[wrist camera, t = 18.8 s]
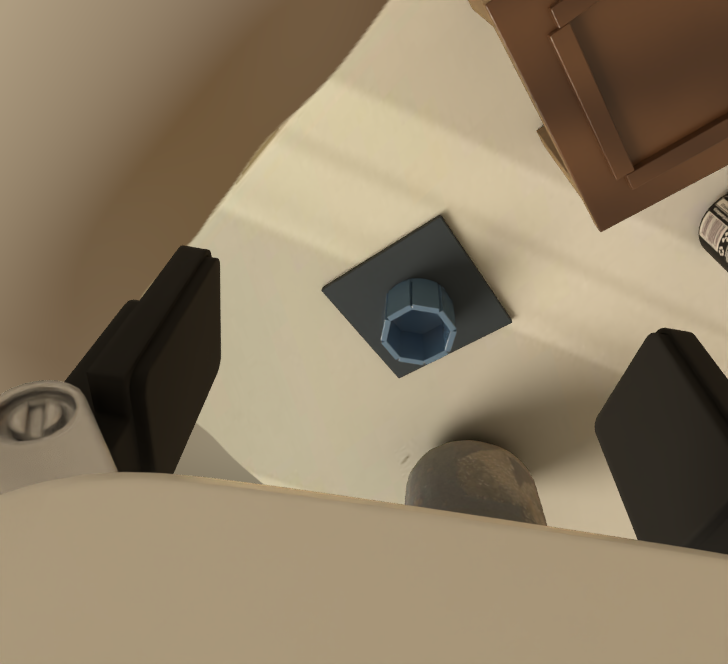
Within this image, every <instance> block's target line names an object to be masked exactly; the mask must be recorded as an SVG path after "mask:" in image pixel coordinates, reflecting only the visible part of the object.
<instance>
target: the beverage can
mask: <svg viewBox="0 0 728 664" xmlns="http://www.w3.org/2000/svg"><path fill="white" fill-rule="evenodd" d="M699 240H700V243H701V245H702V246H703V248H704V249H705V250H706V251H707V252H708V253H709V254H710V255H711V256H712V257H713V258H714V259H715V260H716V261H717V262H718V263H719V264H720V265H721V266H722V267H723V268H724V269H725V270H726V271H727V272H728V194H726V195H725V196H723V197H722V198H720V199H719V200H718V201H716V202H715V203H714V204H713V205H712V206H711V207H710V208H709V210H708V211H707V212H706V214H705V215H704V217H703V219H702V221H701V223H700V227H699Z"/></svg>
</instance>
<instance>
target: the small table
mask: <svg viewBox="0 0 728 664" xmlns="http://www.w3.org/2000/svg"><path fill="white" fill-rule="evenodd" d="M468 1H469V3H470V5H471V7H472V9H473V10H474V11H475V12H477V13H478V14H479V15H480V16H481V17H483V18H484V19H485V20H486V21H487V22H489V23H490V24H491V25H492V26H493V27H494V28H495V30H496V32H497V34H498V36H499V38H500V40H501V42H502V44H503V46H504V48H505V50H506V52H507V54H508V56H509V58H510V60H511V62H512V64H513V66H514V67H515V69H516V71H517V73H518V75H519V77H520V79H521V81H522V83H523V85H524V87H525V89H526V91H527V93H528V95H529V97H530V99H531V101H532V103H533V105H534V107H535V108H536V110H537V112H538V114H539V116H540V118H541V120H542V122H543V124H544V126H543V127H541V128H540V129H538V130H537V133H538V135H539V137H540V139H541V141H542V143H543V145H544V147H545V148H546V149H547V151H548V152H549V154H550V155H551V156H552V158H553V159H554V161H555V162H556V163H557V165H558V166H559V168H560V169H561V170H562V172H563V173H564V175H565V176H566V177H567V179H568V180H569V182H570V183H571V184H572V186H573V187H574V189H575V190H576V191H577V193H578V194H579V196H580V197H581V199H582V200H583V202H584V204H585V206H586V208H587V210H588V212H589V214H590V216H591V218H592V220H593V222H594V224H595V225H596V227H597V228H598V230H599V231H600V232H602V231H604V230H606V229H608V228H610V227H612V226H613V225H615V224H617V223H619V222H621V221H623V220H625V219H627V218H629V217H630V216H632V215H634V214H636V213H638V212H640V211H642V210H644V209H646V208H647V207H649V206H651V205H653V204H655V203H657V202H659V201H661V200H663V199H664V198H666V197H668V196H670V195H672V194H674V193H676V192H678V191H680V190H681V189H683V188H685V187H687V186H689V185H691V184H693V183H695V182H697V181H698V180H700V179H702V178H704V177H706V176H708V175H710V174H712V173H714V172H715V171H717V170H719V169H721V168H723V167H725V166H727V165H728V0H468Z"/></svg>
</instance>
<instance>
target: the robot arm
mask: <svg viewBox="0 0 728 664" xmlns="http://www.w3.org/2000/svg"><path fill="white" fill-rule="evenodd" d="M220 360H221V322H220V261H219V259H218V258H213V257H212V256H211V252H210V250H207V249H201V248H195V247H189V246H180V247H179V248H178V250H177V251H176V252H175V254H174V255H173V256H172V258H171V259H170V260H169V262H168V263H167V265H166V266H165V267H164V268H163V270H162V271H161V272H160V274H159V275H158V277H157V278H156V279H155V280H154V282H153V283H152V285H151V286H150V287H149V289H148V290H147V291H146V293H145V294H144V295H143V297H142V298H141V299H140V301H138V300H130V301H128V302H127V303H126V304H125V305H124V306H123V307H122V309H121V310H120V311H119V313H118V314H117V315H116V316H115V318H114V319H113V320H112V321H111V323H110V324H109V325H108V327H107V328H106V329H105V330H104V332H103V333H102V334H101V336H100V337H99V338H98V339H97V341H96V342H95V344H94V345H93V346H92V347H91V349H90V350H89V351H88V352H87V353H86V355H85V356H84V357H83V359H82V360H81V361H80V362H79V364H78V365H77V366H76V368H75V369H74V370H73V371H72V373H71V374H70V375H69V377H68V378H67V379H66V380H65V382H60V381H36V382H31V383H25V384H22V385H19V386H17V387H14V388H11V389H9V390H7V391H5V392H4V393H2V394H0V664H728V379H727V378H726V376H725V375H724V374H723V372H722V371H721V370H720V368H719V367H718V366H717V364H716V363H715V362H714V360H713V359H712V358H711V356H710V355H709V354H708V352H707V351H706V350H705V348H704V347H703V346H702V344H701V343H700V342H699V340H698V339H697V338H696V336H695V335H694V334H693V333H691V332H686V331H681V330H675V329H669V328H661V329H659V330H658V331H657V332H656V333H651V334H650V335H648V336H647V338H646V339H645V341H644V342H643V344H642V346H641V347H640V349H639V350H638V352H637V354H636V355H635V357H634V358H633V360H632V362H631V363H630V365H629V366H628V368H627V370H626V371H625V373H624V374H623V376H622V378H621V379H620V381H619V382H618V384H617V386H616V387H615V389H614V390H613V392H612V394H611V395H610V397H609V398H608V400H607V402H606V403H605V405H604V406H603V408H602V410H601V411H600V413H599V414H598V416H597V418H596V421H595V432H596V435H597V438H598V440H599V443H600V445H601V448H602V451H603V453H604V456H605V458H606V461H607V463H608V466H609V468H610V471H611V473H612V476H613V478H614V481H615V483H616V486H617V488H618V491H619V494H620V496H621V499H622V501H623V504H624V506H625V509H626V511H627V514H628V516H629V519H630V521H631V524H632V526H633V529H634V531H635V534H636V537H637V539H638V540H634V539H627V538H621V537H615V536H608V535H602V534H595V533H589V532H583V531H576V530H570V529H563V528H556V527H550V526H543V525H537V524H530V523H523V522H517V521H510V520H504V519H497V518H490V517H484V516H477V515H470V514H464V513H457V512H450V511H444V510H437V509H430V508H424V507H417V506H410V505H403V504H396V503H389V502H382V501H375V500H369V499H362V498H355V497H348V496H341V495H334V494H327V493H320V492H313V491H306V490H300V489H293V488H285V487H278V486H270V485H262V484H254V483H246V482H239V481H231V480H224V479H216V478H208V477H199V476H187V475H177V474H173V473H174V471H175V469H176V466H177V464H178V462H179V460H180V457H181V455H182V453H183V450H184V448H185V446H186V444H187V441H188V439H189V436H190V434H191V432H192V430H193V428H194V425H195V423H196V421H197V418H198V416H199V414H200V412H201V409H202V407H203V405H204V402H205V400H206V398H207V396H208V393H209V391H210V389H211V386H212V384H213V382H214V380H215V377H216V375H217V373H218V370H219V366H220Z"/></svg>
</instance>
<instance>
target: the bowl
mask: <svg viewBox="0 0 728 664" xmlns="http://www.w3.org/2000/svg"><path fill="white" fill-rule="evenodd" d="M405 505H410V506H417V507H424V508H430V509H437V510H444V511H450V512H457V513H464V514H470V515H477V516H484V517H490V518H497V519H504V520H510V521H517V522H523V523H530V524H537V525H543V526H547V523H546V519H545V516H544V513H543V509H542V505H541V502H540V499H539V496H538V492H537V488H536V485H535V482H534V480H533V478H532V476H531V474H530V473H529V471H528V469H527V467H526V466H525V465H524V464H523V463H522V462H521V461H520V460H519V459H518V458H517V457H516V456H514V455H513V454H512V453H511V452H509V451H507V450H505V449H503V448H501V447H499V446H496V445H492V444H489V443H485V442H480V441H473V440H462V441H453V442H448V443H446V444H443V445H441V446H438V447H436V448H433V449H431V450H429V451H428V452H427V453H426V454H425V455H424V456H423V457H422V458H421V459H420V460H419V461H418V462H417V464H416V465H415V467H414V468H413V470H412V471H411V472H410V475H409V478H408V482H407V486H406V496H405Z"/></svg>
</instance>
